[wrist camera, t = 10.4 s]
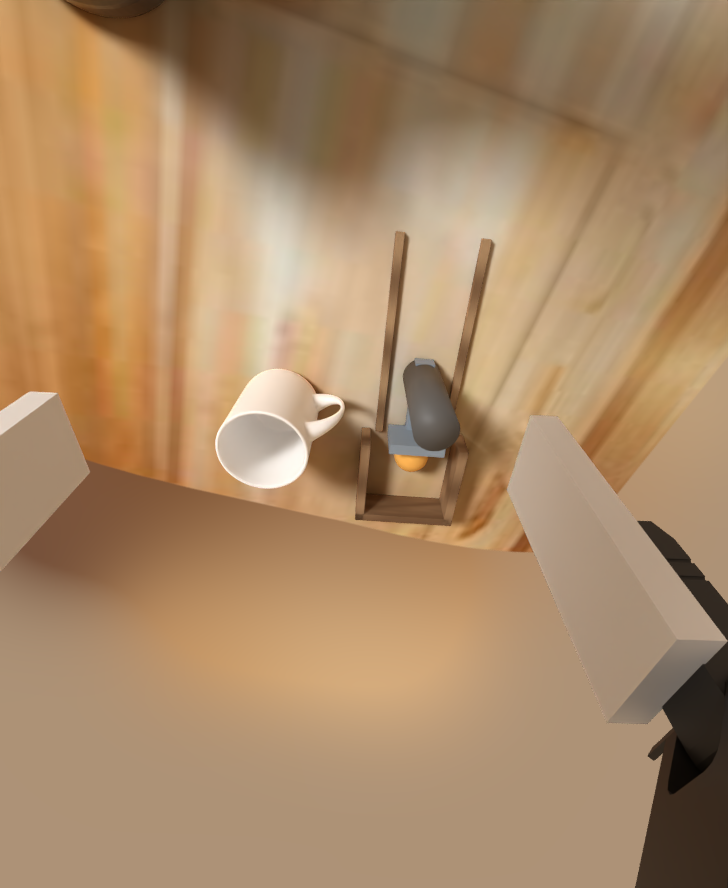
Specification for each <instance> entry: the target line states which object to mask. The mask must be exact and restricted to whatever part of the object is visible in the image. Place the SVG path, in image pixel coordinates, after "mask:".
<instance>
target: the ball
mask: <svg viewBox="0 0 728 888" xmlns="http://www.w3.org/2000/svg"><path fill="white" fill-rule="evenodd" d="M394 457H395V461H396V463H397V465H398V466H399V467H400V468H401V469H403V470H405V471H409V472H414V471H418V470H420V469H421V468H423V467H424V466H425V464H426V463H427V460H428V457H426V456H411V455H397V454H394Z"/></svg>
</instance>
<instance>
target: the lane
mask: <svg viewBox="0 0 728 888" xmlns="http://www.w3.org/2000/svg"><path fill="white" fill-rule="evenodd" d="M404 236H405V232H398V231H396V234H395V244H394V254H393V264H392V273H391V283H390V293H389V302H388V312H387V322H386V331H385V341H384V351H383V361H382V370H381V380H380V390H379V399H378V409H377V419H376V428H375V429H376V431H382V430H383V421H384V412H385V403H386V395H387V386H388V377H389V368H390V360H391V351H392V342H393V333H394V324H395V316H396V307H397V298H398V289H399V280H400V272H401V263H402V254H403V245H404ZM491 242H492V240H491V239H482V240H481V245H480V249H479V254H478V259H477V264H476V269H475V274H474V279H473V284H472V289H471V294H470V299H469V304H468V308H467V313H466V318H465V323H464V328H463V333H462V338H461V343H460V348H459V353H458V358H457V363H456V367H455V372H454V377H453V382H452V387H451V392H450V397H449V398H450V401H451V403H452V406H453V409H454V411H455V409H456V404H457V399H458V395H459V390H460V386H461V381H462V376H463V372H464V367H465V362H466V358H467V353H468V348H469V344H470V339H471V335H472V330H473V325H474V321H475V316H476V311H477V307H478V302H479V297H480V293H481V288H482V284H483V279H484V274H485V270H486V265H487V260H488V256H489V251H490V246H491Z"/></svg>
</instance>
